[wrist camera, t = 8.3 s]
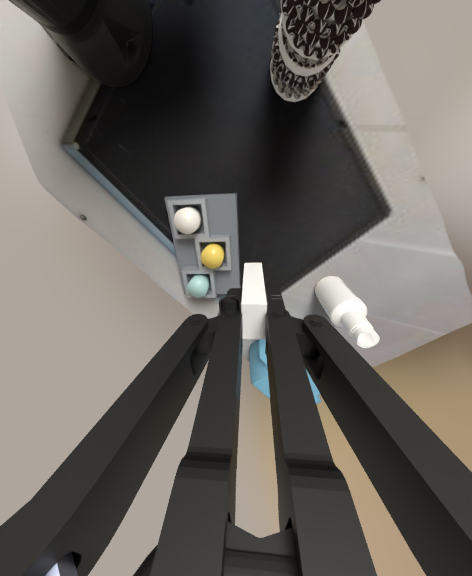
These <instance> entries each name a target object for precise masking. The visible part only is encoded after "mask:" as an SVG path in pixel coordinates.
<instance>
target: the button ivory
mask: <svg viewBox="0 0 472 576" xmlns="http://www.w3.org/2000/svg"><path fill="white" fill-rule="evenodd" d="M202 222H203V216H202V214H201V212H200V211H199V210H198V209H197V208H195V207H192V206H189V207H186V208H183V209H180V210H178V211H177V212H176V213H175V216H174V224H175V226H176V228H177V229H178V230H179V231H180V232H182V233H184V234H191V233H193V232H195V231H196V230H197V229H198V228H199V227H200V226H201V225H202Z"/></svg>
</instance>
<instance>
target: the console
mask: <svg viewBox="0 0 472 576" xmlns="http://www.w3.org/2000/svg"><path fill="white" fill-rule="evenodd" d="M164 198H165V203H166V208H167V212H168V217H169V222H170V227H171V232H172V236H173V241H174V246H175V251H176V256H177V260H178V265H179V270H180V275H181V279H182V284H183V289H184V294H186V295H187V298H197V297H193V296H192V295H190V294H189V292H188V290H187V285H188V283H189V282H190V280H191V279H192V277H193V276H194V274H207V275H208V276H209V278H210V281H211V283H210V286H209V288H208V291H207V293H206V295H205V296H203V297H200V298H216V296H217V294H227V291H228V290H229V289H230V288H241V286H240V258H239V230H238V202H237V193H229V194H208V195H186V196H168V197H164ZM189 206H192V207H195V208H197V209H198V210H199V211H200V212H201V214H202V216H203V222H202V225H201V226H200V227H199V228H198V229H197V230H196V231H195V232H193V233H191V234H184V233H182V232H180V231H179V230H178V229H177V228H176V226H175V224H174V216H175V213H176V212H177V211H178V210H180V209H183V208H186V207H189ZM211 242H218V243H220V244H222V245H223V247H224V249H225V256H224V259H223V261H222V264H221V265H220V266H219V267H217V268H213V269H212V268H208V267H206V266H205V265H204V264H203V263H202V261H201V253H202V251H203V250H204V249H205V247H206V246H207V245H208V244H209V243H211Z"/></svg>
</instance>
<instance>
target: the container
mask: <svg viewBox="0 0 472 576" xmlns="http://www.w3.org/2000/svg"><path fill="white" fill-rule="evenodd" d="M265 345H266V336H265V339H259V340H258V341H256V342H254V343H253V344H251V345H250V375H251V383H252V384H253V385H254V386H255V387H256V388H258V389H259V390H260V391H261V392H262V393H264V394H265V395H266V396H267V397H268V398H270V392H269V380H268V369H267V357H266V354H265ZM306 371H307V370H306ZM307 375H308V378H309V382H310V385H311V388H312V392H313V395H314V399H315V402H316V404H317V403H319V402H321V399H320V397H319V395H320V392H319V391H318V389H317V387H316V385H315V384H314V382H313V380H312V379H311V377H310V375H309V373H308V372H307Z"/></svg>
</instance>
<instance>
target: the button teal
mask: <svg viewBox="0 0 472 576" xmlns="http://www.w3.org/2000/svg"><path fill="white" fill-rule="evenodd" d="M210 283H211V281H210V278H209V276H208V275H207V274H194V276H193V277H192V279H191V280H190V282H189V283H188V285H187V290H188V292H189V294H190V295H192V296H193V297H197V298H200V297H203V296H205V295H206V293H207V291H208V288H209V286H210Z"/></svg>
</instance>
